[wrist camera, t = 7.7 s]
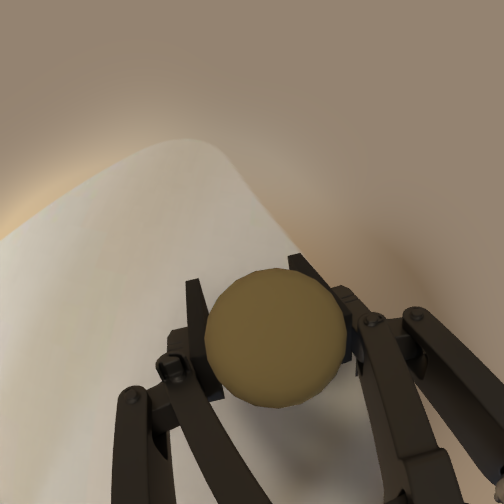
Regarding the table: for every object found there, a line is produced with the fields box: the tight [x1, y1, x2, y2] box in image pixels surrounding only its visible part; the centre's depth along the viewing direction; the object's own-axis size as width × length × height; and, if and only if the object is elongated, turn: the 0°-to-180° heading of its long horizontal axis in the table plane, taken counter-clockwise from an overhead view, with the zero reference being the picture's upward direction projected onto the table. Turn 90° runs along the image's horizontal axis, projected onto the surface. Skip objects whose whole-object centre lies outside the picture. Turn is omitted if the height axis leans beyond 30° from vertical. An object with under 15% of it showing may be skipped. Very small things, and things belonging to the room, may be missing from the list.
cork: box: [204, 268, 347, 409], centre depth 15 cm, size 6×6×11 cm
